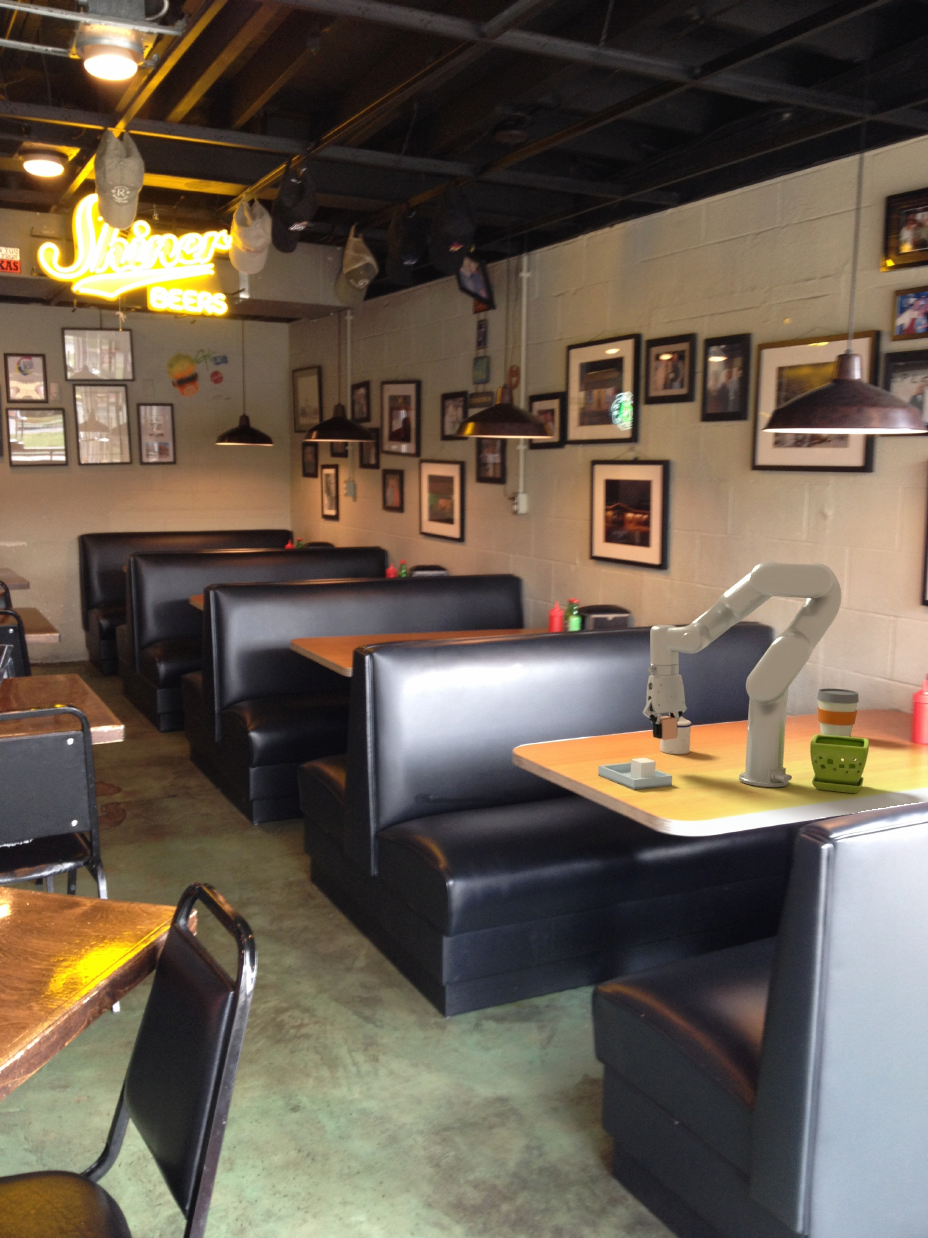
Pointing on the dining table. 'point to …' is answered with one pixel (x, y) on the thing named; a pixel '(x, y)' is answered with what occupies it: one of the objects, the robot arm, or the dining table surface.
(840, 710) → the reusable coffee cup
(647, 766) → the white block
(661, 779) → the tray
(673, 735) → the terracotta block
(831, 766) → the flower pot
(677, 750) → the teacup with lid
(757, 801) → the dining table surface
